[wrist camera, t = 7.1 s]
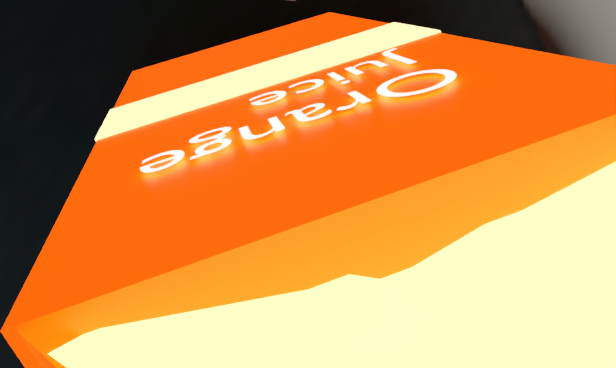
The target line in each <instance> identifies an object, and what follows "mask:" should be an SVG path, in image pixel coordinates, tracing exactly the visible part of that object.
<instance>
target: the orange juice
mask: <svg viewBox="0 0 616 368" xmlns="http://www.w3.org/2000/svg"><path fill="white" fill-rule="evenodd" d="M95 141H96V144H95V146H94V148H93V150H92V152H91V154H90V156H89V158H88V159H87V161H86V163H85V165H84V167H83V169H82V171H81V173H80V175H79V177H78V179H77V181H76V183H75V185H74V187H73V189H72V191H71V193H70V195H69V197H68V199H67V201H66V203H65V205H64V207H63V209H62V211H61V213H60V215H59V217H58V219H57V221H56V223H55V224H54V226H53V228H52V230H51V232H50V234H49V236H48V238H47V240H46V242H45V244H44V246H43V248H42V250H41V252H40V254H39V256H38V258H37V260H36V262H35V264H34V266H33V268H32V270H31V272H30V274H29V276H28V278H27V280H26V282H25V284H24V286H23V288H22V290H21V291H20V293H19V295H18V297H17V299H16V301H15V303H14V305H13V307H12V309H11V311H10V313H9V315H8V317H7V319H6V321H5V323H4V325H3V327H2V329H1V333H2V334H3V336H4V337H5V339H6V340H7V342H8V343H9V345H10V346H11V348H12V349H13V351H14V352H15V354H16V355H17V357H18V358H19V360H20V361H21V363H22V364H23V365H24V367H25V368H616V65H610V64H605V63H600V62H595V61H589V60H584V59H578V58H573V57H568V56H562V55H557V54H552V53H546V52H541V51H535V50H530V49H525V48H519V47H514V46H508V45H503V44H498V43H492V42H487V41H482V40H476V39H471V38H465V37H460V36H455V35H449V34H444V33H441V30H437V29H431V28H425V27H420V26H414V25H408V24H403V23H397V22H392V23H385V22H379V21H374V20H369V19H363V18H358V17H353V16H347V15H342V14H336V13H331V12H329V13H325V14H322V15H319V16H315V17H312V18H309V19H305V20H302V21H299V22H295V23H292V24H289V25H285V26H282V27H279V28H275V29H272V30H269V31H265V32H262V33H259V34H255V35H252V36H249V37H245V38H242V39H239V40H235V41H232V42H229V43H225V44H222V45H219V46H215V47H212V48H209V49H205V50H202V51H199V52H195V53H192V54H189V55H185V56H182V57H179V58H175V59H172V60H169V61H165V62H162V63H159V64H155V65H152V66H149V67H145V68H142V69H139V70H135V71H132V73H131V75H130V77H129V79H128V81H127V83H126V85H125V87H124V89H123V91H122V92H121V94H120V96H119V98H118V100H117V102H116V104H115V106H114V108H113V109H110V111H109V112H108V114H107V116H106V118H105V120H104V122H103V124H102V126H101V128H100V129H99V131H98V133H97V135H96V137H95Z"/></svg>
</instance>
